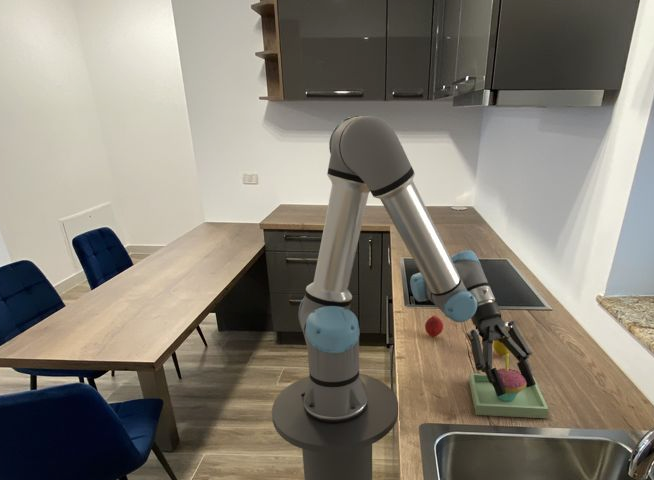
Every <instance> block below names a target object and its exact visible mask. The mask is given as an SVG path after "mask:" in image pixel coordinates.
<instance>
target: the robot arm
mask: <svg viewBox="0 0 654 480" xmlns="http://www.w3.org/2000/svg"><path fill="white" fill-rule="evenodd" d="M328 146H329V154H330V156H329V162H328V167H327V173H326V176H327V178H328V179H329V181H330V182H331V189H330V194H329V197H328V198H329V199H328V204H327V210H326V214H325V220H324V225H323V231H322V236H321V241H320V245H319V246H320V247H319V251H318V256H317V262H316V268H315V273H314V277H313V282H311V283H309V284H308V285H306V288H305V293H304V297H303V298H302V300H301V302H300V304H299V307H298V314H297V315H298V322H299V325H300V327H301V331H302V333H303V337H304V340H305V345H306V350H307V356H308V357H307V359H308V373H309V376H310V379H309V382H308V385H307V389H306V392H305V393H302V394H301V396H302V397H304V399H303V402H304V410H305V412H306V414H307V415H308V416H309V417H310V418H312V419H314V420H316V421H319V422H322V423H329V424H337V423H344V422H348V421H351V420H354V419H356V418H358V417H359V416H360V415H362V414H363V413H364V411H365V410H366V408H367V393H366V391H365V389H364V387H365V385H364V384H363V382H362V380H361V378H360V376H359V374H360V331H361V330H360V325H359V319H358V318H357V315H356V314H355V313H354V312H353V311H352V310H350V308H351V304H352V299H353V294H352V293H351V292H350V290H349V285H350V281H351V276H352V271H353V267H354V262H355V258H356V253H357V248H358V243H359V239H360V235H361V231H362V225H363V221H364V216H365V212H366V208H367V203H368V198H369V194H370V193H371V195H372V197H373V198H375V199H378V200H380V202H381V203H382V205H383V207H384V209H385V210H386V212H387V214H388V216H389V218H390V220H391V221H392V223H393V225H394V227H395V229H396V230H397V232H398V234H399V237H400V238H401V240H402V241H403V243H404V245H405V247H406V249H407V251H408V252H409V254H410V257H411V258H412V259H413V261H414V263H415V266H416V267H417V268H418V270H419V272H417V273H414V274H412V276H411V277H410V281H409V284H410V290H411V293H412V296H413V298H414V299H415V301H417V302H419V303H422V302H428V301H431V303H433V305H435V306H436V307H437V308H438V309H439V311H441V312H442V313H443V314H444V316H445V317H446V318H448V319H450V320H451V321H453V322H455V323H464V322H468V320H470V319H471V323H472V325H473V326H474V327H475V329H471V330H470V331H469V332H468V333H467V332H466V337H467V338H468V340H469V342H470V346H471V352H472V357H473V361H474V367H475V369H476V371H481V372H482V373H484V374H486V375H487V378H488V380H489V382H490V384H491V383H492V384H493V386H494V389H495V391H496V394H497V396H501V395H503V394H506V391H505V389H504V387H503V384H502V382H501V379H500V377H499V374H498V372H497V370H498V369H497V367H493V344H494V341H497V340H498V341H499V342H500V343H503V344H504V345H505V347H506V348H507V349H508V350H509V351H510V353H511V355H513V356H514V358H515V359H516V360H517V361H518V362H517V363H516V365H517V368H518V369H519V373H521V375H523V376H524V378H525V380H526V386H527V388H528V387H531V386H533V385H535V384H536V383H537V382H536V383H535V381H534V378H535V377H534V378H533V374H532V371H533V370H532V367H531V365H530V362H529V359H530V356H532V355H533V351H532V350H531V349H530V347H529V346H528V344H527V342H526V340H525V339H524V337H523V336H522V334H521V333H520V331H519V330H518V328H517V324H516V322H515V321H514V320H511V321H507V322H505V321H504V319H503V318H502V312H501V310H500V307H499V305H498V302H496V297H495V295H494V293H493V291H492V289H491V286H490V284H489V282H488V279H487V277H486V274H485V272H484V269H483V267H482V264H481V262H480V259H479V258H478V256H477V255H476V253H475V251H473V250H470V249H466V250H465V249H464V250H460V251H459V252H457V253H454V254H453V255H452V256H450V253H449V251H448V250H447V247H446V245H445V243H444V241H443V239H442V237H441V235H440V233H439V231H438V229H437V227H436V225H435V223H434V221H433V219H432V217H431V215H430V213H429V211H428V209H427V207H426V204H425V202H424V200H423V198H422V196H421V195H420V192H419V190H418V188H417V186H416V184H415V182H414V178H415V175H416V173H415V171H414V169H413V166H412V164H411V162H410V160H409V158H408V156H407V153H406V152H405V150H404V147H403V145H402V143H401V141H400V140H399V137H398V135H397V133H396V132H395V130H394V129H393V127H391V125H390V124H389V123H388V122H387V121H385V120H384V119H382V118H379V117H377V116H373V115H353V116H348V117H346V118H344V119H343V120H341V121H340V122H339V123H338V124H337V125H336V126H335V127H334V128H333V130H332V132H331V134H330V137H329V142H328ZM503 336H504V337H503ZM510 337H511V338H510ZM480 339H481V340H480ZM363 385H364V386H363Z"/></svg>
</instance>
